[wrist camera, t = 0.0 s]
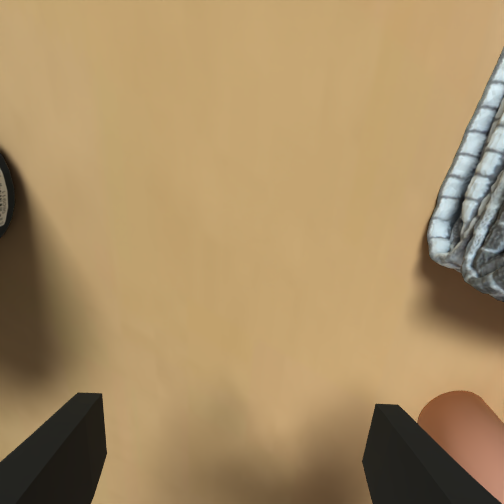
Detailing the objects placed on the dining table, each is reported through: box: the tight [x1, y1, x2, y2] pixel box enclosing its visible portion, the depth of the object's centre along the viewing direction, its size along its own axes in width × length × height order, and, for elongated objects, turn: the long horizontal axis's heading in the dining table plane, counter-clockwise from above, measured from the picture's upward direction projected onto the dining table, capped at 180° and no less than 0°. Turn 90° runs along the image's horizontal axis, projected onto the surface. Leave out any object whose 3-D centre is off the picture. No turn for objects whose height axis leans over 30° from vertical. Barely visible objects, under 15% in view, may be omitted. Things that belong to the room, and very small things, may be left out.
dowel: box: [418, 391, 504, 504], centre depth 19 cm, size 4×4×9 cm
